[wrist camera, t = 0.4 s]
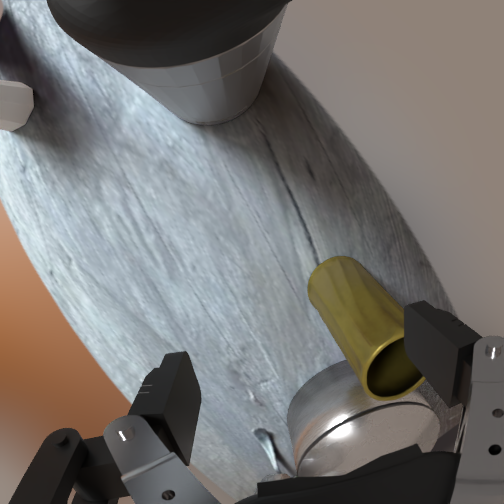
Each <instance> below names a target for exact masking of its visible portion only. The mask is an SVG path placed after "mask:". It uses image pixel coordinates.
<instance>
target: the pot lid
mask: <svg viewBox="0 0 504 504" xmlns="http://www.w3.org/2000/svg"><path fill="white" fill-rule="evenodd" d="M287 478H290V476H288V475H287V474H271V475H267V476H265V477H264V478H263V479H262V481H261V482H268V481H275V480H281V479H287ZM255 494H258V493H257V489H256V490H255V493H254V495H255Z"/></svg>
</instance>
